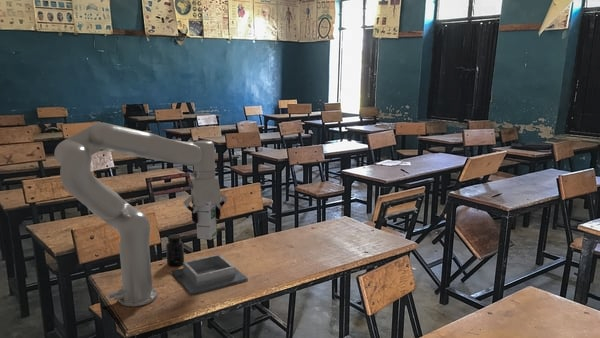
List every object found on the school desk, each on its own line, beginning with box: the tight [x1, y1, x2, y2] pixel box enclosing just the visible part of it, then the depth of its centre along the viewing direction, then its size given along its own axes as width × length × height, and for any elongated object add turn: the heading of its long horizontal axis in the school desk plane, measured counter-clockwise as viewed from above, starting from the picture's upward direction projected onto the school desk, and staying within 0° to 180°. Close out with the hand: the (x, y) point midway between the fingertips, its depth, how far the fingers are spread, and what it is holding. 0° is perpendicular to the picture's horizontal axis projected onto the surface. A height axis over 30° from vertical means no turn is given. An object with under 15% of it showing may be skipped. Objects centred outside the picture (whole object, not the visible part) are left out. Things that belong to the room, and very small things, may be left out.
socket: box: [171, 253, 249, 296], centre depth 172 cm, size 22×22×5 cm
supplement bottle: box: [165, 234, 185, 268], centre depth 183 cm, size 7×7×12 cm
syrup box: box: [196, 201, 218, 241], centre depth 168 cm, size 6×6×14 cm
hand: (206, 220), depth 168 cm, fingers closed on syrup box, 8 cm apart
